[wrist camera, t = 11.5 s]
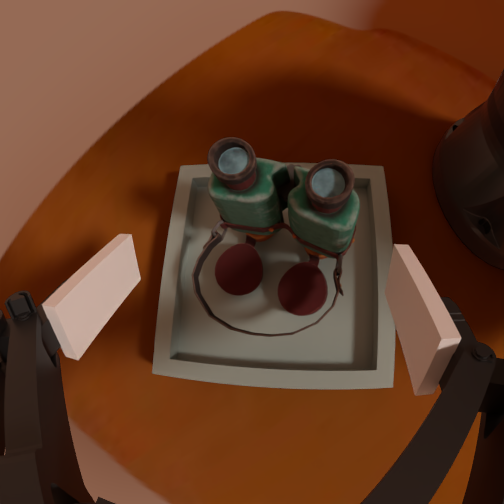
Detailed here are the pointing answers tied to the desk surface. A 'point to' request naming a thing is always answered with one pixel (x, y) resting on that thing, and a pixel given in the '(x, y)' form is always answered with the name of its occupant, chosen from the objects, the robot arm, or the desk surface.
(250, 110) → the desk surface
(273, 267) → the tray
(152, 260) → the desk surface
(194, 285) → the binoculars
